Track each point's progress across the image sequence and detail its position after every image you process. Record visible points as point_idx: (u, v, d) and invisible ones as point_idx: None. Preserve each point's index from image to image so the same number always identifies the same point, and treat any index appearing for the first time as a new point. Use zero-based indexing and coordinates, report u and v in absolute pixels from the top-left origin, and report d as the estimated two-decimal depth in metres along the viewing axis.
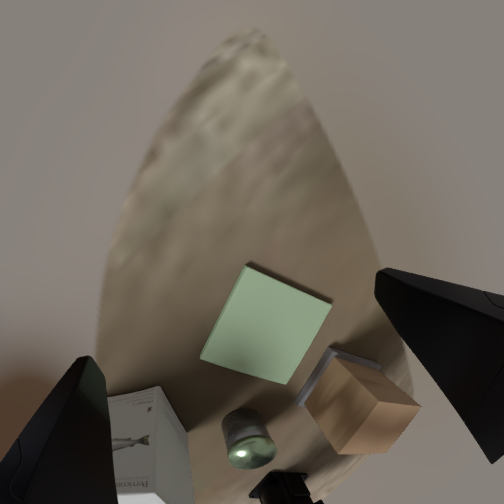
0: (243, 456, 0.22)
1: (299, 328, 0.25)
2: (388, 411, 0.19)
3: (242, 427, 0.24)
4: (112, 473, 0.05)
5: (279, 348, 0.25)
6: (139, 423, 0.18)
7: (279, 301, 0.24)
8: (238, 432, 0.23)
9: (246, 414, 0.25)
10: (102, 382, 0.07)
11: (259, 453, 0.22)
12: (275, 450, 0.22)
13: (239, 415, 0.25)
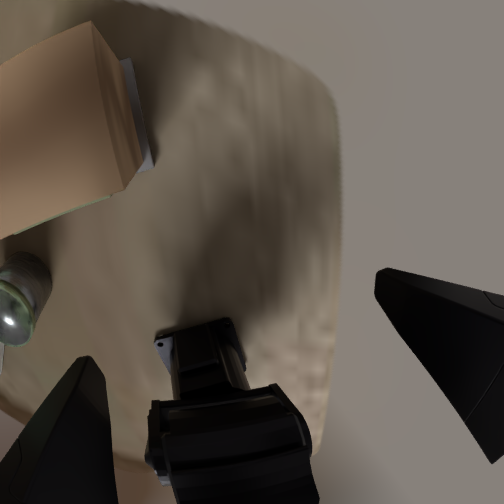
0: None
1: None
2: None
3: None
4: (113, 473, 0.05)
5: None
6: None
7: None
8: None
9: (4, 263, 0.15)
10: (102, 382, 0.07)
11: (3, 310, 0.12)
12: (11, 294, 0.12)
13: None
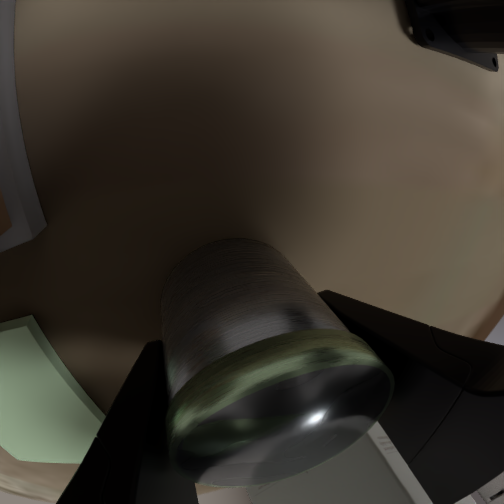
0: (304, 454, 0.05)
1: None
2: None
3: None
4: None
5: (7, 391, 0.07)
6: None
7: None
8: None
9: None
10: None
11: (268, 440, 0.04)
12: (205, 416, 0.04)
13: None
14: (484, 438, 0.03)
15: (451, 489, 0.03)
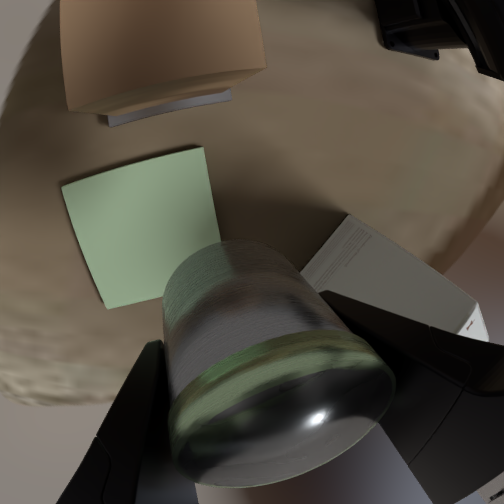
0: (306, 454, 0.05)
1: (113, 203, 0.16)
2: (86, 38, 0.05)
3: None
4: None
5: (155, 205, 0.16)
6: None
7: (106, 254, 0.17)
8: None
9: None
10: None
11: (271, 441, 0.04)
12: (208, 418, 0.04)
13: None
14: (484, 438, 0.03)
15: (451, 489, 0.03)
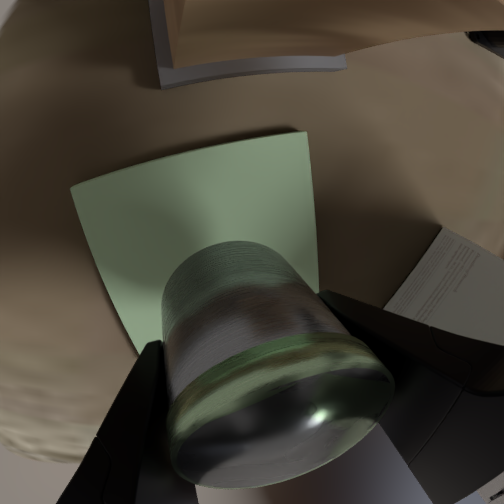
0: (305, 456, 0.05)
1: (161, 214, 0.10)
2: None
3: None
4: None
5: (230, 218, 0.11)
6: None
7: (147, 295, 0.11)
8: None
9: None
10: None
11: (269, 443, 0.04)
12: (206, 420, 0.04)
13: None
14: (484, 438, 0.03)
15: (451, 489, 0.03)
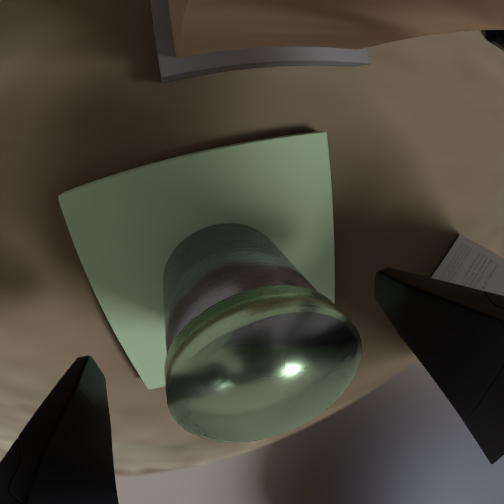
0: (285, 407, 0.06)
1: (162, 226, 0.09)
2: None
3: None
4: (112, 473, 0.05)
5: None
6: None
7: (147, 315, 0.10)
8: None
9: None
10: (102, 382, 0.07)
11: (250, 384, 0.06)
12: (197, 351, 0.05)
13: None
14: None
15: None
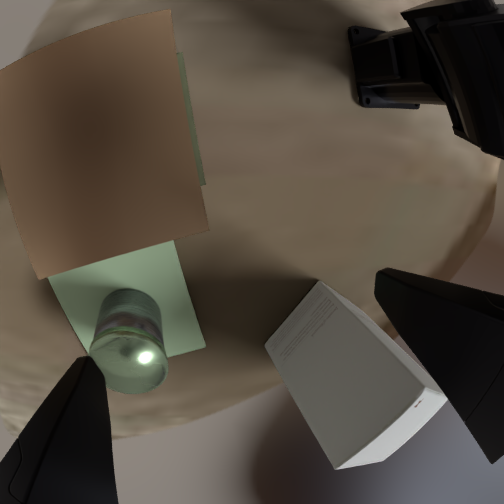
0: (137, 377, 0.14)
1: (95, 290, 0.17)
2: (35, 210, 0.07)
3: None
4: (113, 473, 0.05)
5: None
6: None
7: None
8: None
9: None
10: (102, 382, 0.07)
11: (117, 363, 0.14)
12: (93, 347, 0.13)
13: None
14: None
15: None
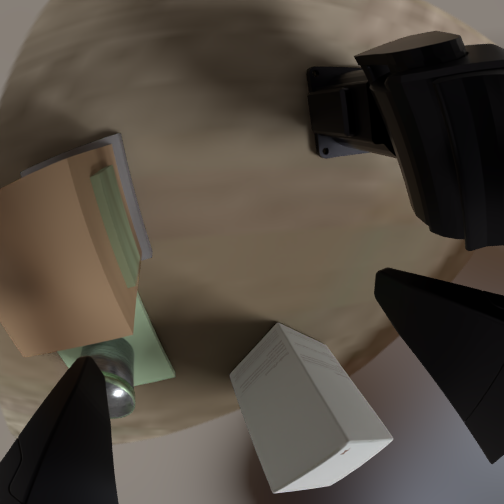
0: (111, 407, 0.16)
1: None
2: (11, 316, 0.09)
3: None
4: (112, 473, 0.05)
5: None
6: None
7: None
8: None
9: None
10: (102, 382, 0.07)
11: None
12: None
13: None
14: None
15: None
